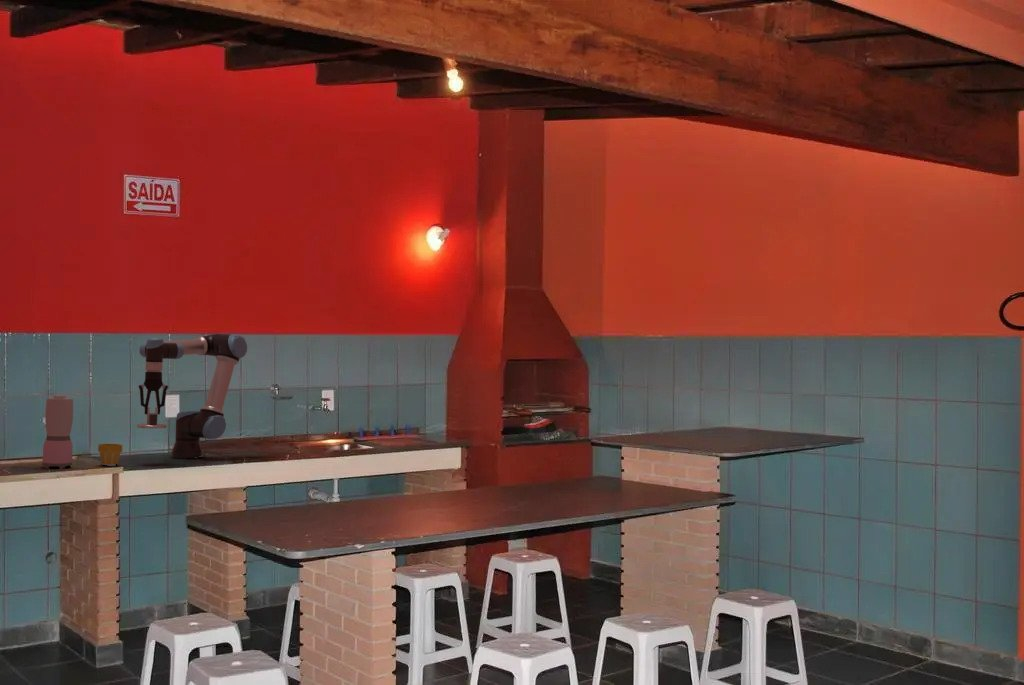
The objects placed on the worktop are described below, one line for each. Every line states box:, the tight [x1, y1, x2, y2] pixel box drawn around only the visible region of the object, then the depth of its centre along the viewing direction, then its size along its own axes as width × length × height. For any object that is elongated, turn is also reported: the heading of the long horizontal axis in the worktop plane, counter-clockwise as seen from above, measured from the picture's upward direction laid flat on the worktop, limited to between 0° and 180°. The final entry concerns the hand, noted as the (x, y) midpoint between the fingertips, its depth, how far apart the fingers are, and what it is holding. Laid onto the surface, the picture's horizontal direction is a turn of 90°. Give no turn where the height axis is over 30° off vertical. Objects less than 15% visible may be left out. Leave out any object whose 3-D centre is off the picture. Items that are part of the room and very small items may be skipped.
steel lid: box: [136, 412, 167, 429], centre depth 504 cm, size 13×13×6 cm
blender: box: [41, 394, 74, 470], centre depth 482 cm, size 16×12×32 cm
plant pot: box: [97, 443, 123, 465], centre depth 494 cm, size 10×10×10 cm
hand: (151, 421), depth 504 cm, fingers closed on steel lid, 3 cm apart
